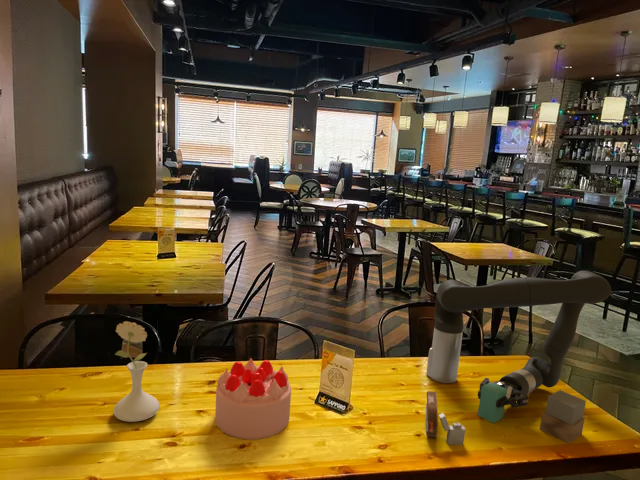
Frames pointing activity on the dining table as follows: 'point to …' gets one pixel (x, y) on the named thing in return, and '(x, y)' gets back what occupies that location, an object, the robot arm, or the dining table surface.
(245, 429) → the cake
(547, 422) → the walnut base block
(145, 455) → the dining table surface
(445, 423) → the lighter
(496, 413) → the teal pillar
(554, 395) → the grey square block
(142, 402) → the flower in vase
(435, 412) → the tin
